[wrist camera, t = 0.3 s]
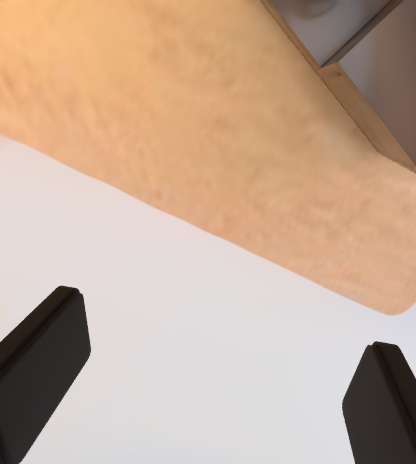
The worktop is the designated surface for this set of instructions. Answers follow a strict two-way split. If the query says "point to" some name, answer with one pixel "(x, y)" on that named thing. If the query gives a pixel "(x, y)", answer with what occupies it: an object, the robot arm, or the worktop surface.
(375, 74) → the step rack
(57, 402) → the robot arm
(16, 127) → the worktop surface
